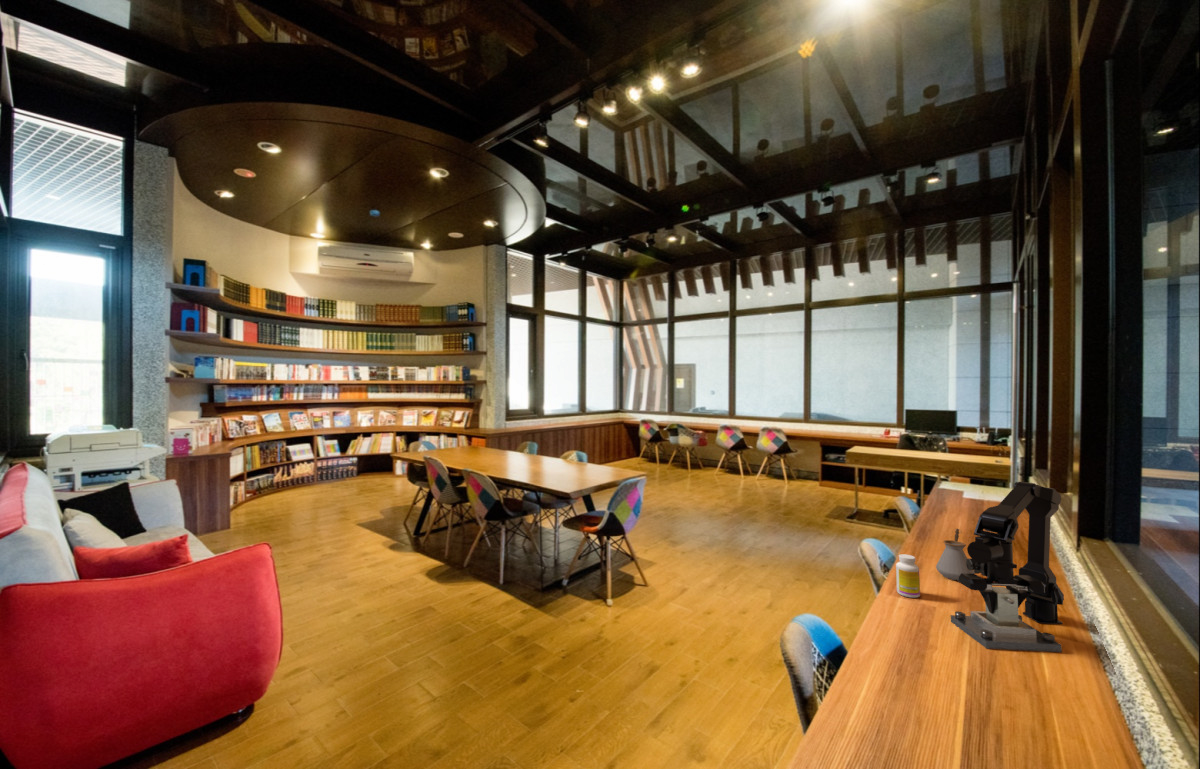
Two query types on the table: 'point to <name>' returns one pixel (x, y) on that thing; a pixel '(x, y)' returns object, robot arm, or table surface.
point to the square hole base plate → (1004, 634)
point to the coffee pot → (953, 559)
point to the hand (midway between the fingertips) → (1001, 613)
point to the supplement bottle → (907, 576)
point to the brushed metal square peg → (1004, 608)
